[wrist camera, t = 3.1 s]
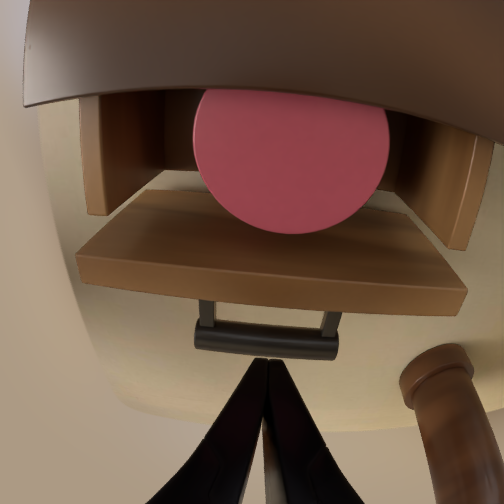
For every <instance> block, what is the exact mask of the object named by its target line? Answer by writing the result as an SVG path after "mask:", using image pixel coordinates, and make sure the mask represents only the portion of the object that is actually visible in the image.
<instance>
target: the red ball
mask: <svg viewBox="0 0 504 504" xmlns="http://www.w3.org/2000/svg"><path fill="white" fill-rule="evenodd" d="M193 149H194V156H195V160H196V164H197V167H198V170H199V172H200V175H201V177H202V179H203V181H204V183H205V184H206V186H207V188H208V189H209V191H210V192H211V193H212V195H213V196H214V197H215V199H216V200H217V201H218V202H219V203H220V204H221V205H222V206H223V207H224V208H225V209H226V210H228V211H229V212H230V213H231V214H233V215H234V216H236V217H237V218H239V219H240V220H242V221H244V222H246V223H248V224H250V225H252V226H254V227H257V228H260V229H263V230H266V231H270V232H275V233H283V234H304V233H311V232H316V231H320V230H323V229H327V228H329V227H331V226H334V225H336V224H338V223H340V222H342V221H344V220H345V219H347V218H349V217H350V216H351V215H353V214H354V213H355V212H357V211H358V210H359V209H360V208H361V207H362V206H363V205H364V204H365V203H366V202H367V201H368V200H369V198H370V197H371V196H372V195H373V193H374V192H375V190H376V188H377V187H378V185H379V183H380V181H381V179H382V177H383V175H384V172H385V169H386V165H387V162H388V157H389V151H390V132H389V124H388V120H387V116H386V112H385V109H382V108H378V107H373V106H368V105H363V104H357V103H352V102H346V101H340V100H334V99H327V98H320V97H313V96H305V95H297V94H287V93H277V92H264V91H249V90H226V89H206V91H205V93H204V94H203V96H202V99H201V101H200V103H199V105H198V108H197V112H196V115H195V119H194V126H193Z"/></svg>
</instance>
